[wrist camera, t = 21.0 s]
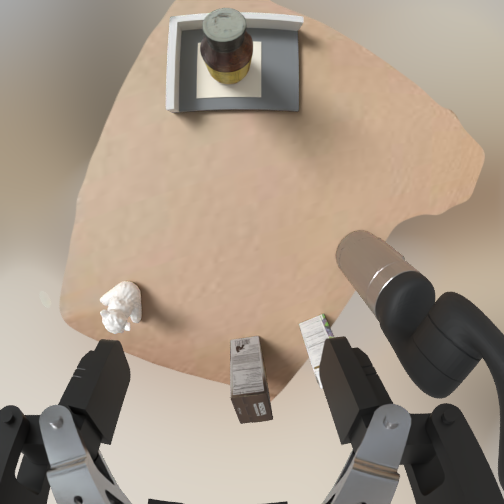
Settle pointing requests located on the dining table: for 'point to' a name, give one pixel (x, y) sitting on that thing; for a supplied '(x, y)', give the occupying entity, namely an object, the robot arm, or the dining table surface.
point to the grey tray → (257, 79)
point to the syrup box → (315, 340)
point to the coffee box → (249, 381)
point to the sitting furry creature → (121, 307)
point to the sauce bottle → (226, 45)
